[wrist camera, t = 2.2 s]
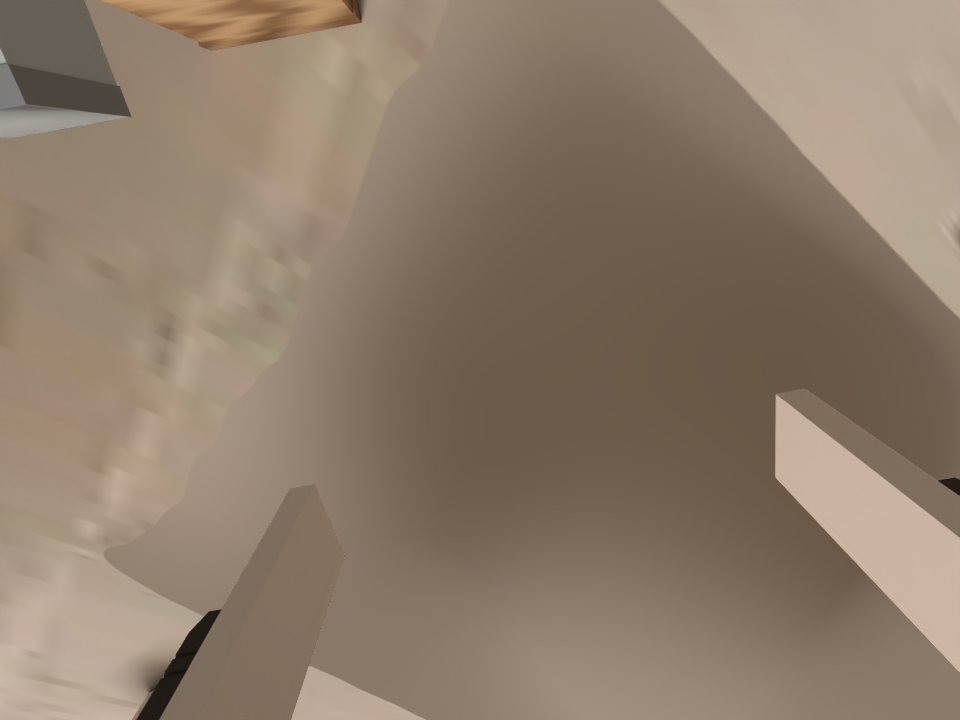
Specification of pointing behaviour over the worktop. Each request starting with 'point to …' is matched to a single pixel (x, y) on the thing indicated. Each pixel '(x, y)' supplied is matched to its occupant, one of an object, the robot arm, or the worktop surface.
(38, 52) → the foil box
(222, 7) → the oak box
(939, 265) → the worktop surface
